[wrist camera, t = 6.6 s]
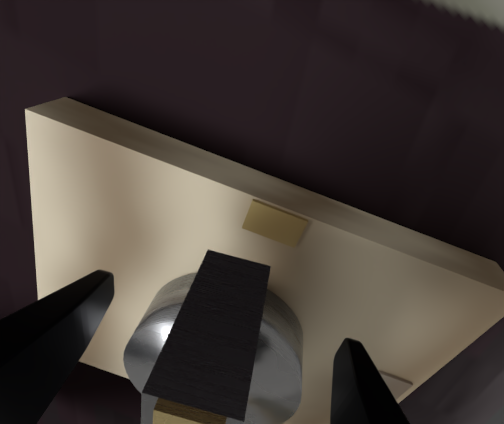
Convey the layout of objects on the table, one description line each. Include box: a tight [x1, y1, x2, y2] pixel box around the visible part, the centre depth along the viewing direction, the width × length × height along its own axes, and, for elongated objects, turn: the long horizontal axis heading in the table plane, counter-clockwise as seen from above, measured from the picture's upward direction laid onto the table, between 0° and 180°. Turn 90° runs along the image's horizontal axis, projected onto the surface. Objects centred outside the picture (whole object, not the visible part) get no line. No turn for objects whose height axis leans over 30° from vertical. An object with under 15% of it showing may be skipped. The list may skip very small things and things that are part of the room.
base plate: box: [25, 97, 504, 424], centre depth 15 cm, size 18×14×2 cm
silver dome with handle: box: [123, 250, 303, 424], centre depth 11 cm, size 13×7×7 cm, turn 169°
